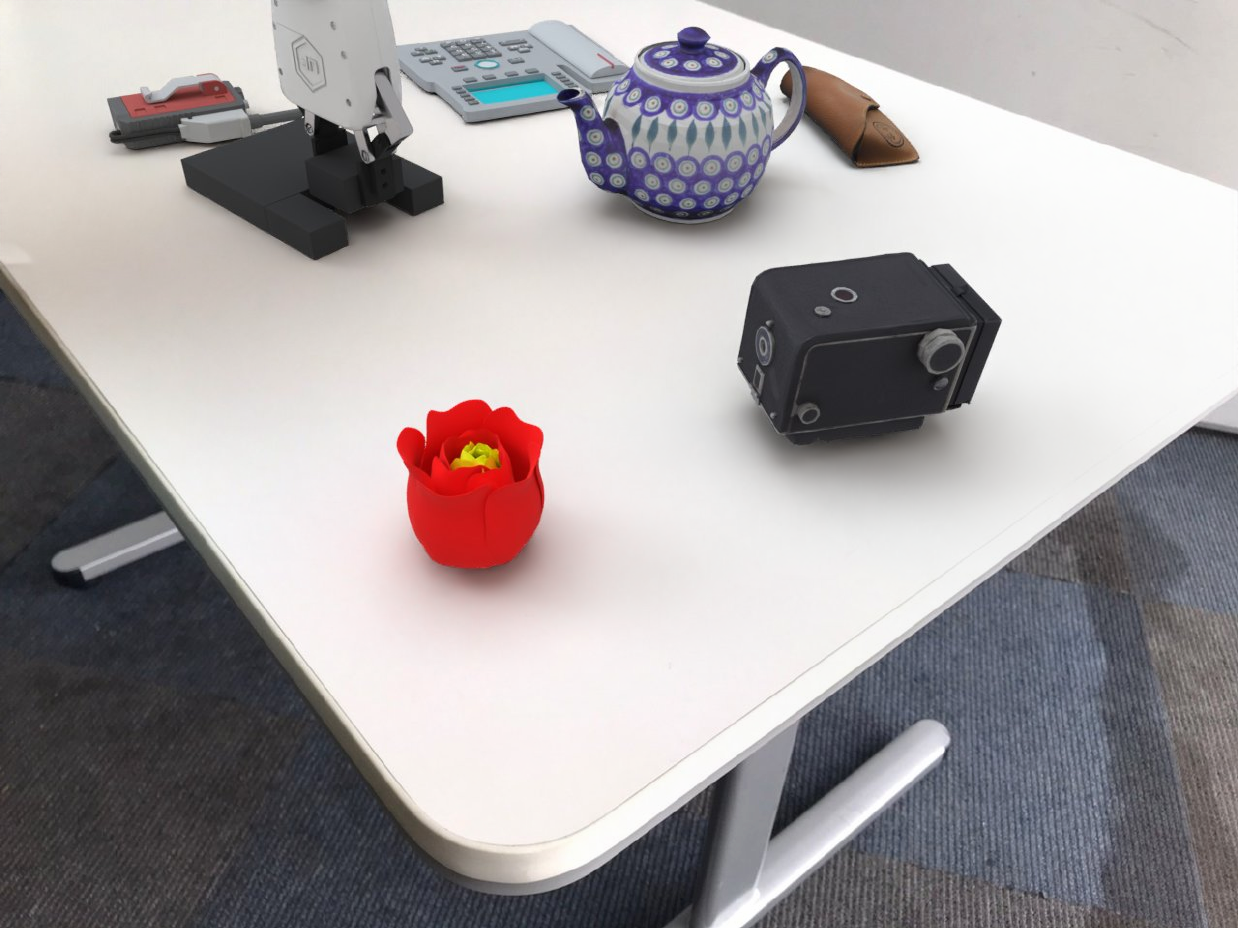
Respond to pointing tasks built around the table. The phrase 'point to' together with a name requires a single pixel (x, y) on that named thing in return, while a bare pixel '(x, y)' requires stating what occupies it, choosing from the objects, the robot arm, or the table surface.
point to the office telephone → (511, 69)
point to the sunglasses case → (852, 120)
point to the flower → (473, 484)
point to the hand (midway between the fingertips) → (356, 187)
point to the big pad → (290, 187)
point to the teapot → (685, 127)
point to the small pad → (342, 177)
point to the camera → (862, 345)
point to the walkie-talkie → (187, 113)
